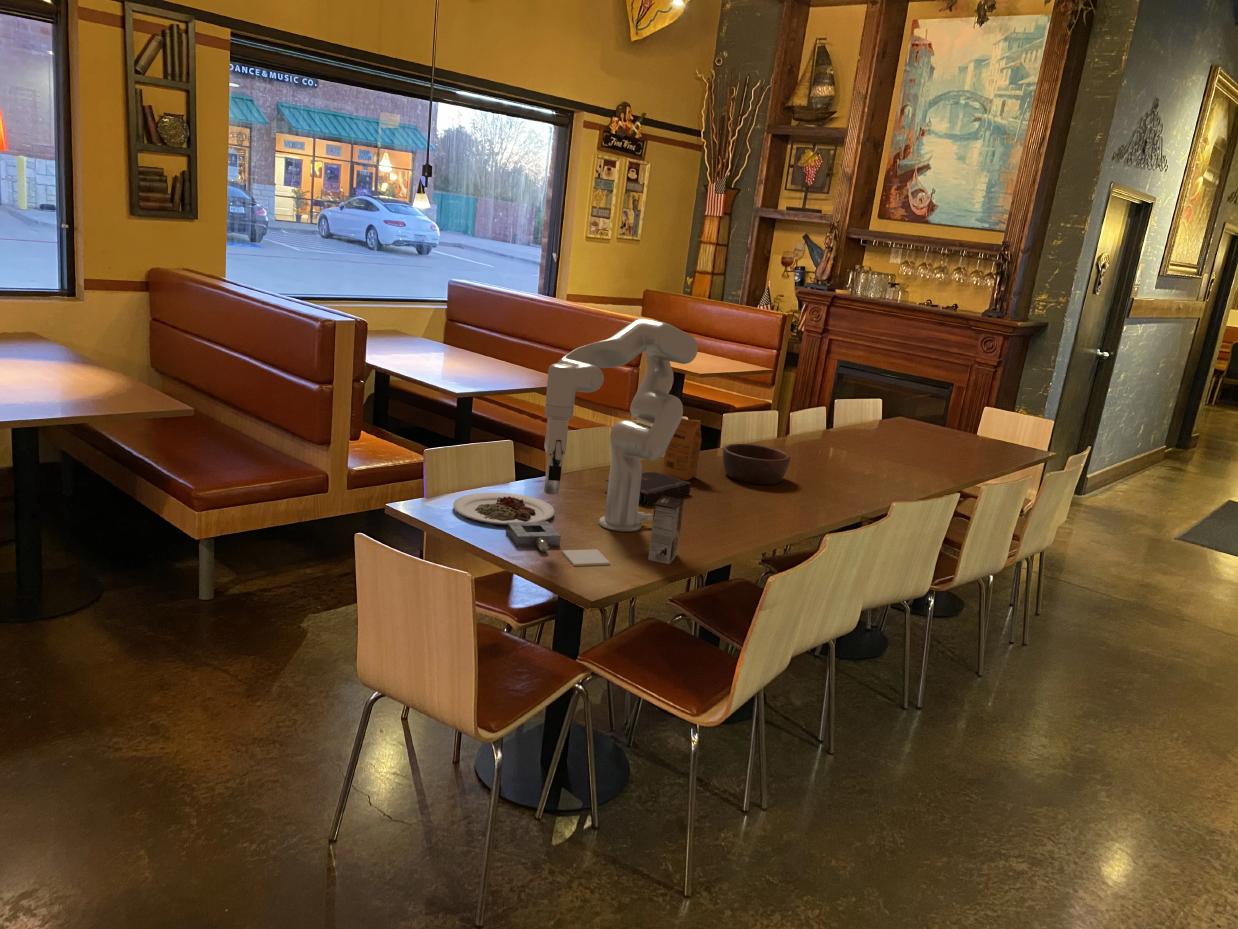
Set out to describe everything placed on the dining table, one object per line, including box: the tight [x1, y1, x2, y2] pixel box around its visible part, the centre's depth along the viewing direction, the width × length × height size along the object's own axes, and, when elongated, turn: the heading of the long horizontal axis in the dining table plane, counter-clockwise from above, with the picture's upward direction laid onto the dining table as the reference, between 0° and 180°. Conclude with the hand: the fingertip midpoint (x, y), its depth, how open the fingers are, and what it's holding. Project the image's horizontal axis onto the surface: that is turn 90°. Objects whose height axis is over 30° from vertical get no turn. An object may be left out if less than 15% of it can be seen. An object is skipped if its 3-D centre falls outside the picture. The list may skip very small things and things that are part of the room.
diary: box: [604, 470, 692, 507], centre depth 316 cm, size 19×25×5 cm
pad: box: [561, 548, 611, 567], centre depth 249 cm, size 10×10×1 cm
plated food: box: [452, 492, 555, 526], centre depth 280 cm, size 30×30×3 cm
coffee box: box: [647, 496, 685, 565], centre depth 255 cm, size 9×6×16 cm
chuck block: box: [505, 520, 562, 553], centre depth 257 cm, size 12×17×3 cm
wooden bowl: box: [722, 443, 791, 486], centre depth 352 cm, size 25×25×10 cm
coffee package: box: [661, 417, 702, 481], centre depth 341 cm, size 10×12×22 cm
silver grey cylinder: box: [543, 452, 564, 496], centre depth 252 cm, size 4×4×12 cm
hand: (553, 477), depth 252 cm, fingers closed on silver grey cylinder, 4 cm apart
